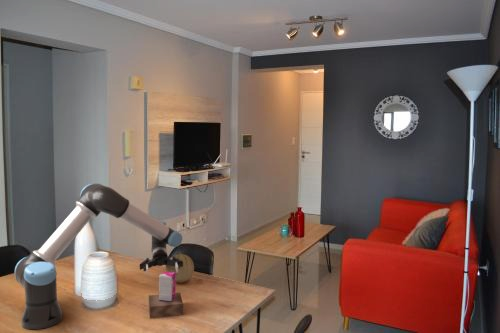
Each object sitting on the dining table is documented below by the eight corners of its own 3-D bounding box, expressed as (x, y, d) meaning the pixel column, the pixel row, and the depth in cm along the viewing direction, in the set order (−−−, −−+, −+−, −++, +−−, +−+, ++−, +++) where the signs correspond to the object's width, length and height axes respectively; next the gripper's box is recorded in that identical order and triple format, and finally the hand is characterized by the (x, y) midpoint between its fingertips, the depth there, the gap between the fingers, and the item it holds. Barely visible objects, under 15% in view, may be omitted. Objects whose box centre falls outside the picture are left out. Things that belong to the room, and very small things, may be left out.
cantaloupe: (173, 289, 208) (173, 260, 206) (160, 280, 219) (160, 252, 218) (199, 283, 216) (199, 254, 215) (186, 274, 228) (186, 247, 226)
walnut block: (149, 318, 177) (149, 307, 177) (148, 306, 189) (148, 295, 188) (183, 314, 181) (183, 303, 181) (180, 303, 193) (180, 292, 192)
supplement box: (171, 302, 182) (171, 276, 180) (158, 301, 183) (158, 275, 181) (176, 296, 187) (175, 271, 186) (163, 295, 188) (163, 271, 187)
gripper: (184, 262, 217) (189, 276, 197) (134, 265, 211) (134, 280, 190) (184, 247, 216) (189, 261, 196) (134, 250, 210) (134, 264, 190)
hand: (162, 270), depth 193 cm, fingers open, 13 cm apart
